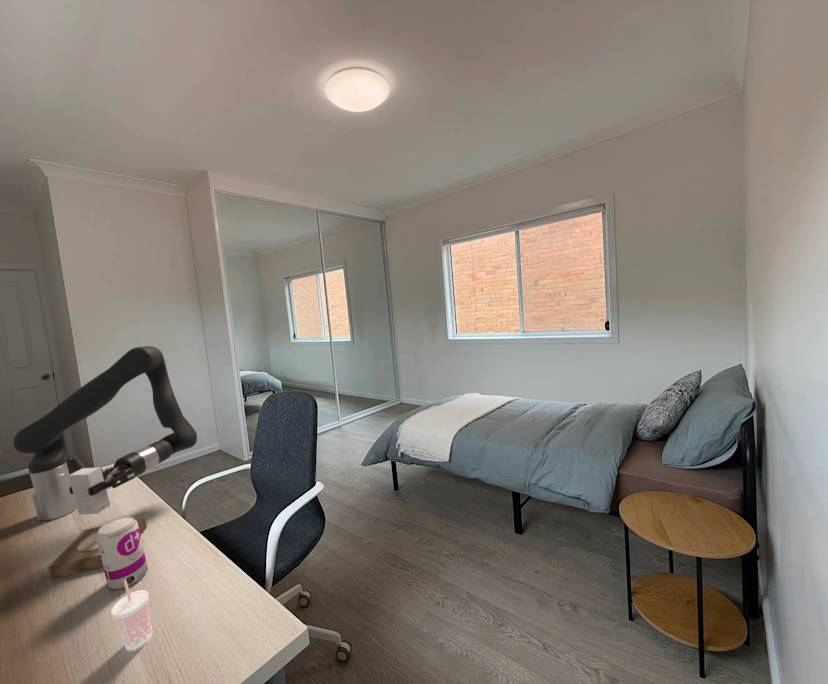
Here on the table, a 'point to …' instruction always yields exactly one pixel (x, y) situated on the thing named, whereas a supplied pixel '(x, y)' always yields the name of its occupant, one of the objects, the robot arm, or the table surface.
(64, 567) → the block
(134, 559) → the supplement can
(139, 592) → the beverage cup
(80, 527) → the table surface
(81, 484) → the skincare box
